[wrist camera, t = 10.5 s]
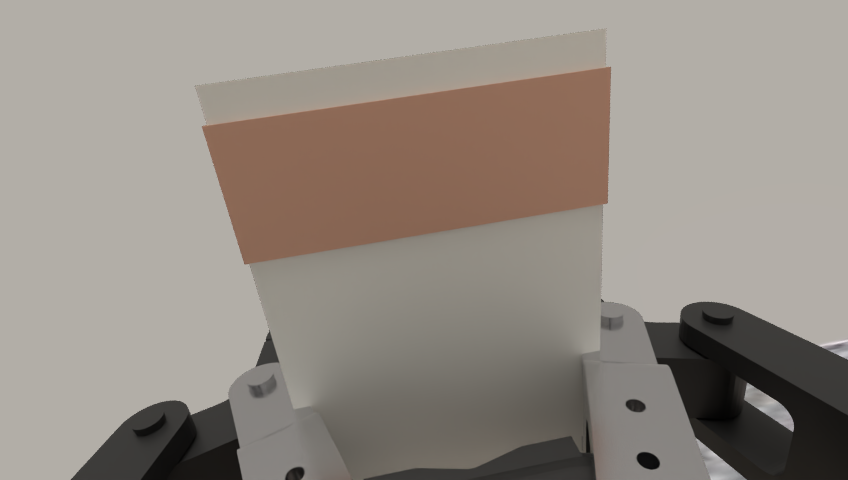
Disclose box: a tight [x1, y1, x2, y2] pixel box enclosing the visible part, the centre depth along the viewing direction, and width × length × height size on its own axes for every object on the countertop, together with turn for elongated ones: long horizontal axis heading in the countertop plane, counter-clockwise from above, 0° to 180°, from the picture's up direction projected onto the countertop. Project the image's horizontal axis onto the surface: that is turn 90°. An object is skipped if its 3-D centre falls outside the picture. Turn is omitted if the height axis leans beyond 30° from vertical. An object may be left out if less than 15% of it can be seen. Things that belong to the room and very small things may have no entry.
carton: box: [195, 29, 611, 480], centre depth 11 cm, size 6×6×15 cm
